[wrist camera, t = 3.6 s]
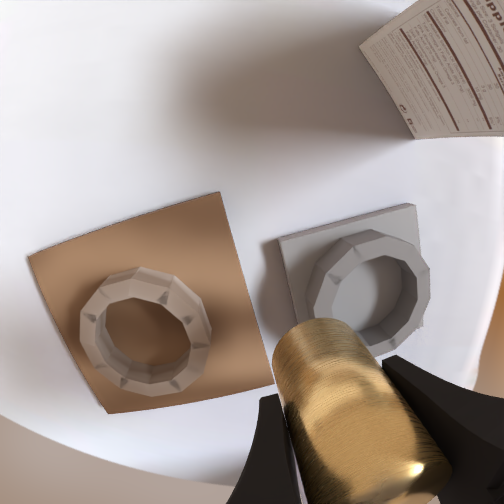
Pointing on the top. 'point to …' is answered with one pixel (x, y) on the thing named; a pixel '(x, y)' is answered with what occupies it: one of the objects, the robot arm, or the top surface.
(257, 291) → the top surface
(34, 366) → the top surface
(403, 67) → the supplement box
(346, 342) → the brass peg
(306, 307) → the spline stand
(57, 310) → the hub board
